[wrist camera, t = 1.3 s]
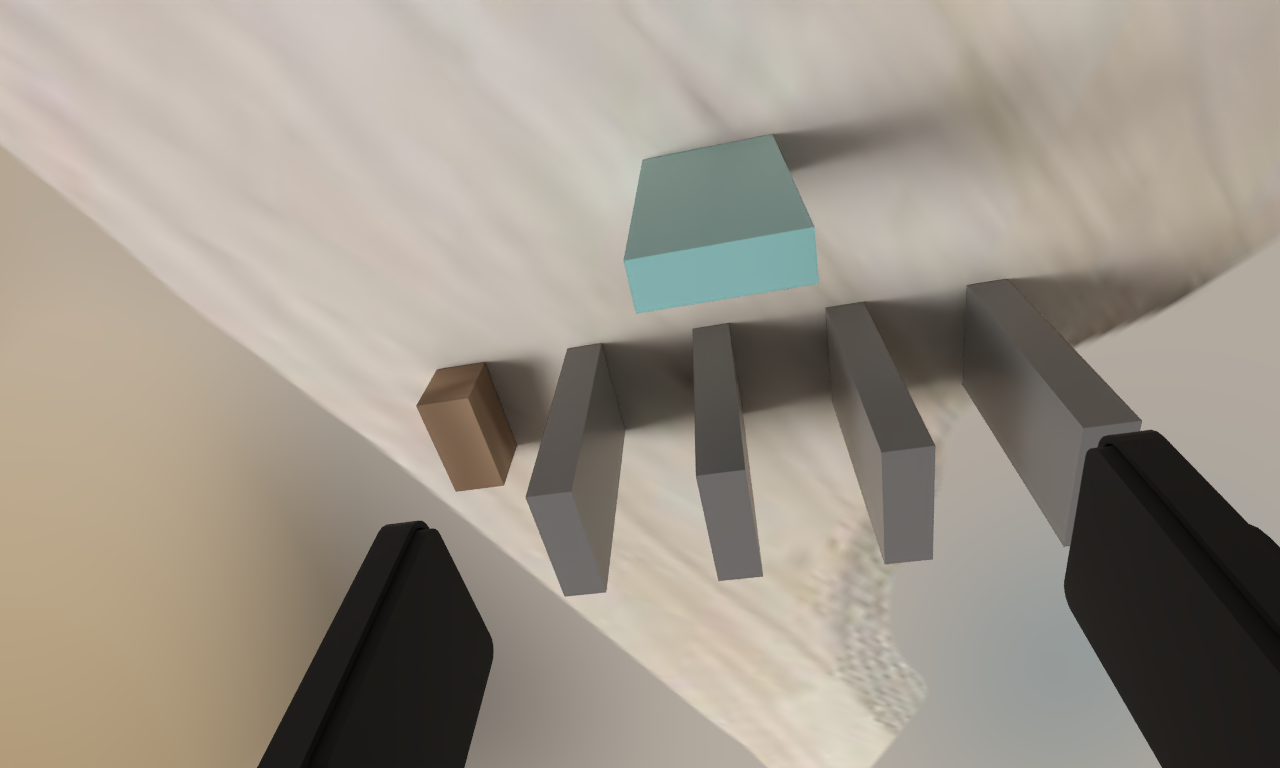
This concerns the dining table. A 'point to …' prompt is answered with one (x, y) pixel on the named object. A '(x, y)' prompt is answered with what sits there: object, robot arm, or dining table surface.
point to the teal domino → (718, 227)
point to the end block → (468, 426)
